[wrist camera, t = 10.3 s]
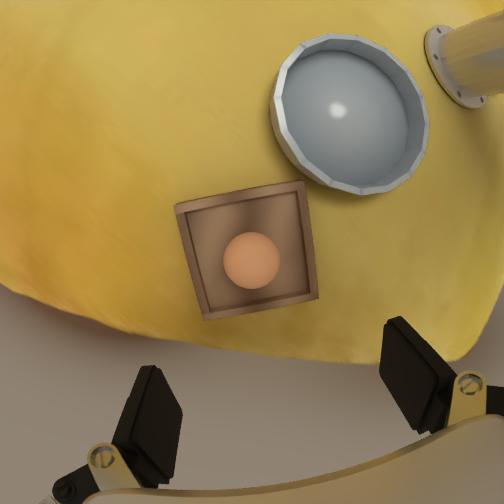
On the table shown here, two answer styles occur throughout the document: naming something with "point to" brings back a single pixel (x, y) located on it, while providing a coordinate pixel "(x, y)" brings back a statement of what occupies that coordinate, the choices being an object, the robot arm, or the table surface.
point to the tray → (241, 221)
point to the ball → (251, 260)
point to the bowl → (349, 114)
